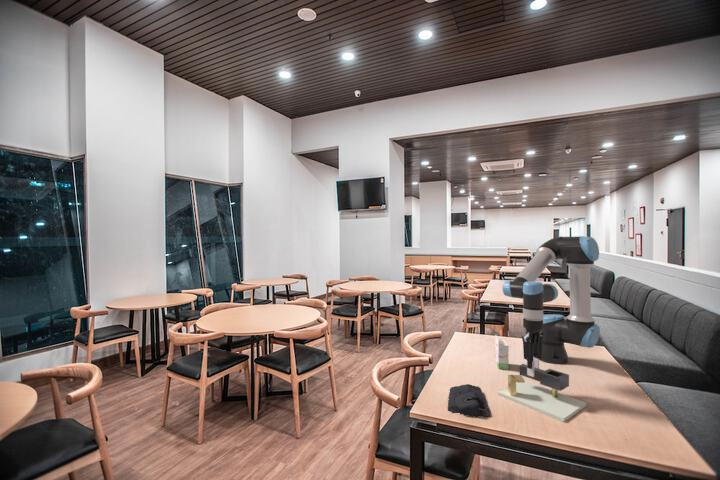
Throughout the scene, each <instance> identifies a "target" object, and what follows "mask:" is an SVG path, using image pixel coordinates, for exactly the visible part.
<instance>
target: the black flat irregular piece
mask: <svg viewBox="0 0 720 480" xmlns="http://www.w3.org/2000/svg"><path fill="white" fill-rule="evenodd" d="M449 391H450V392H449V393H448V398H447V403H448V404H447V411H448V412H451V414H454V413H460V414H459V415H462V414H464V415H463V416H465V415H468V416H467V417H473V416H475V417H474V418H478V416H480V418H481V416H483V418H484V417H490V416H491V410H490V407H489V406H488V404H487V401H486V397H485V395H484V393H483V390H482V388H481V387H480V386H478V385H477V386H476V385H472V384H466V383H465V384H461V385H457V386H456V385H455V386H452V387H450V389H449ZM448 399H449V400H448Z"/></svg>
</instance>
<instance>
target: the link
mask: <svg viewBox="0 0 720 480" xmlns="http://www.w3.org/2000/svg"><path fill="white" fill-rule="evenodd" d="M519 375H521V376H522V377H525V378H528V379H531V380H533V381H537V382H539V385H541V386H545V387H548V388H550V389H552V388H553V389H556V390H558V391H559V392H561V391H562V390H564V389H566V388H568V387H570V374H568V373H564V372H561V371H558V370H555V369H552V368H548V369H546V370H544V369H541V368H539V369H538V368H535V377H532V376H529V375H527V364H525V363H522V364H520V365H519Z"/></svg>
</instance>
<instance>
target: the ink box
mask: <svg viewBox="0 0 720 480" xmlns="http://www.w3.org/2000/svg"><path fill="white" fill-rule="evenodd" d="M494 341H495V342H494V344H495V346H494V349H495V354H494V355H495V358H494V359H495V360H494V361H495V362H494V363H495V364H496V367H497V368H498V370H499V369H500V370H510V368H509V365H510V364H509V351H510V350H509V348H510V346H509V345H508V343H507V341H506V340H500V338H499V337H498V336H497V335H496V334H495V339H494Z"/></svg>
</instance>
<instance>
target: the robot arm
mask: <svg viewBox="0 0 720 480" xmlns="http://www.w3.org/2000/svg"><path fill="white" fill-rule="evenodd" d="M599 258H600V247H599V245H598V242H597V241H596V239H595V238H594V237H592V236H581V235H580V236H557V237H553V238H551V239H549V240H547V241H545V242H544V243H542V244H541V245H540V246H539V247H538V248H537V249H536V251H535V255H534V256H533V257H532V258H531V259H530V261H528V263H527V264H526V265H525V266H524V268H523V269H521V271H520V272H519V273H518V274H517V276H516V277H515V278H514V279H513V280H506V281H504V282H503V285H502V289H501V290H502V292H503V295H504V296H506V297H509V298H512V299H513V298H515V299H521V300H522V301H523V302H522V307H523V308H522V314H523V316H522V317H523V319H522V326H523V328H524V329H525V335H523V336H521V338H522V347H523V350H522V351H523V360H526V365H527V375H529V376H532V377H535V368H538V369H540V361H543V362H545V363H549V364H558V365H559V364H561V365H562V364H567V363H569V355H568V353H567V352H568V351H567V350H566V346H565V344H566V343H567V344H570V345H573V346H574V345H575V346H579V347H581V348H587V349H589V348H590V349H591V348H594V347H595V346H596V345H597V343H598V342H599V339H600V333H601V330H600V326H599V325H598V324H597V323H595V321H596V320H595V319H594V318H593V317H592V314H591V312H592V311H591V308H592V307H591V305H592V304H591V302H592V301H591V267H593V266H594V265H595V262H596V261H598V260H599ZM556 260H565V264H566V265H567V266H568V267H569V314H568V315H567V316H566V318H565V316H564V315H563V314H554V313H553V314H544V303H550V302H552V301H555V300H556V299H557V298H558V296H559V290H558V289H557V287H556V286H555V285H554V284H552V283H544V284H543V283H542V282H540V281H536V280H537V279H538V278H539V277H540V276H541V274H542V273H543V272H544V271H545V270H546V268H547V267H548V266H549V265H550V264H552V263H554V261H556Z"/></svg>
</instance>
